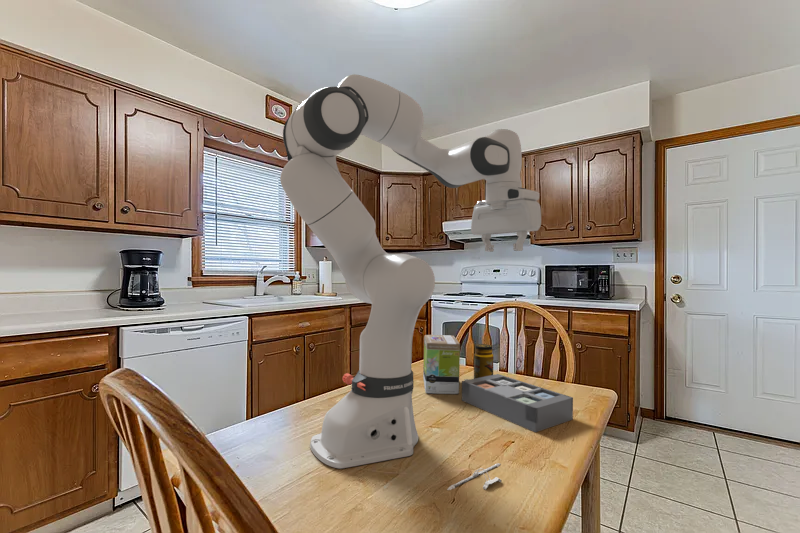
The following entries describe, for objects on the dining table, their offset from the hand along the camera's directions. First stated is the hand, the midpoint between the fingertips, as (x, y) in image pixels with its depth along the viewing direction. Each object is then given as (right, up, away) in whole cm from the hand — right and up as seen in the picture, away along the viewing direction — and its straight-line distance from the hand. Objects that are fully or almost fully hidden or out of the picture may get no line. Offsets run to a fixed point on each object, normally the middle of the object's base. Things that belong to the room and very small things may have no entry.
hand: (503, 251), depth 99 cm
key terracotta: (-3, -37, +5) cm, 38 cm away
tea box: (-14, -41, +20) cm, 48 cm away
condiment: (-1, -41, +24) cm, 47 cm away
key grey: (+3, -37, +9) cm, 39 cm away
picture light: (-12, -41, -32) cm, 54 cm away
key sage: (+4, -37, -6) cm, 38 cm away
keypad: (+3, -41, +1) cm, 41 cm away
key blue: (+10, -38, -2) cm, 39 cm away
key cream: (+6, -38, +3) cm, 38 cm away
